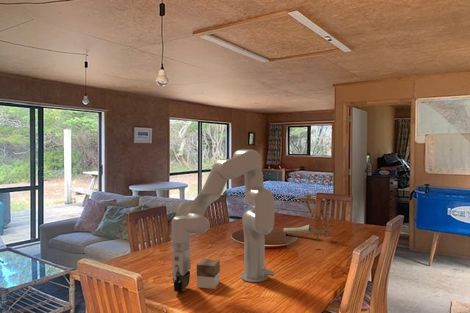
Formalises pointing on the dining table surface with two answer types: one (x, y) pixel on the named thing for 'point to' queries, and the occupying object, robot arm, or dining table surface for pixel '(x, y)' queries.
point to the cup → (184, 280)
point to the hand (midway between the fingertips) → (181, 287)
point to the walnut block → (208, 268)
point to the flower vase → (306, 230)
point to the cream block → (208, 281)
